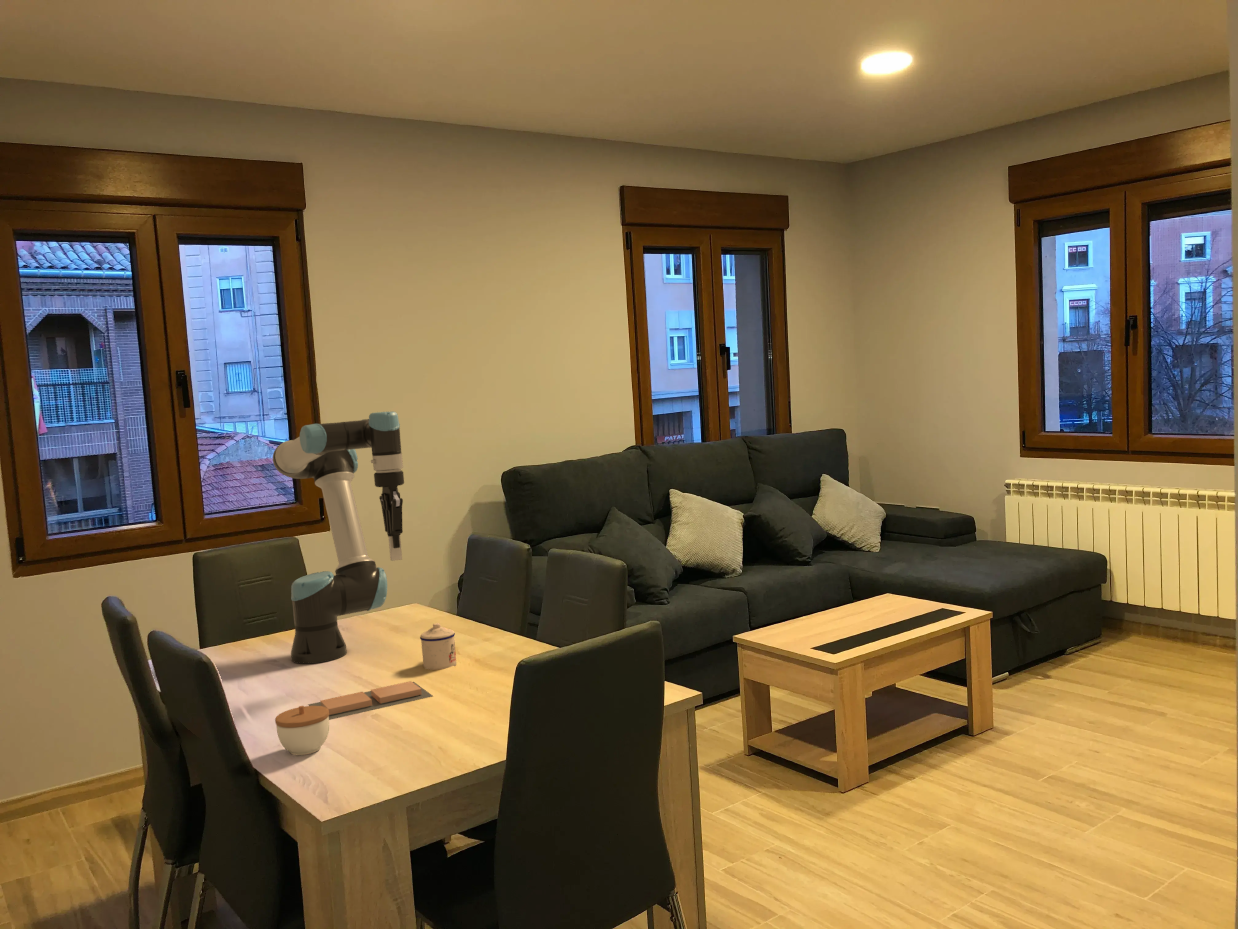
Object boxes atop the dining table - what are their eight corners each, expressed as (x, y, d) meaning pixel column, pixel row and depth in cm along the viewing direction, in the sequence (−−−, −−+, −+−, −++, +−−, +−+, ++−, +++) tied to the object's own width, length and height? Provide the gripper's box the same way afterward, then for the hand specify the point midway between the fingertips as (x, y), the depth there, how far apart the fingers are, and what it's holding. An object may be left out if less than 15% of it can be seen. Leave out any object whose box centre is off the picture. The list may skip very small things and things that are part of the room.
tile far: (370, 689, 241) (380, 697, 234) (410, 681, 246) (421, 688, 239) (371, 696, 241) (380, 704, 234) (411, 687, 246) (421, 695, 239)
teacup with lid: (457, 669, 261) (454, 625, 260) (422, 673, 259) (418, 629, 258) (457, 657, 273) (453, 615, 272) (423, 661, 271) (419, 619, 270)
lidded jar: (285, 743, 214) (281, 700, 213) (336, 738, 215) (332, 696, 214) (272, 762, 203) (268, 717, 202) (326, 757, 204) (322, 712, 203)
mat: (308, 706, 238) (308, 704, 238) (413, 684, 251) (413, 681, 250) (323, 723, 225) (322, 721, 225) (433, 698, 237) (433, 696, 237)
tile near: (320, 700, 235) (328, 709, 228) (362, 691, 240) (371, 699, 233) (320, 707, 235) (329, 716, 228) (363, 698, 240) (372, 706, 233)
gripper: (367, 471, 264) (375, 558, 267) (381, 473, 253) (389, 565, 255) (395, 468, 268) (402, 554, 270) (410, 470, 257) (417, 560, 259)
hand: (396, 559), depth 263 cm, fingers closed
